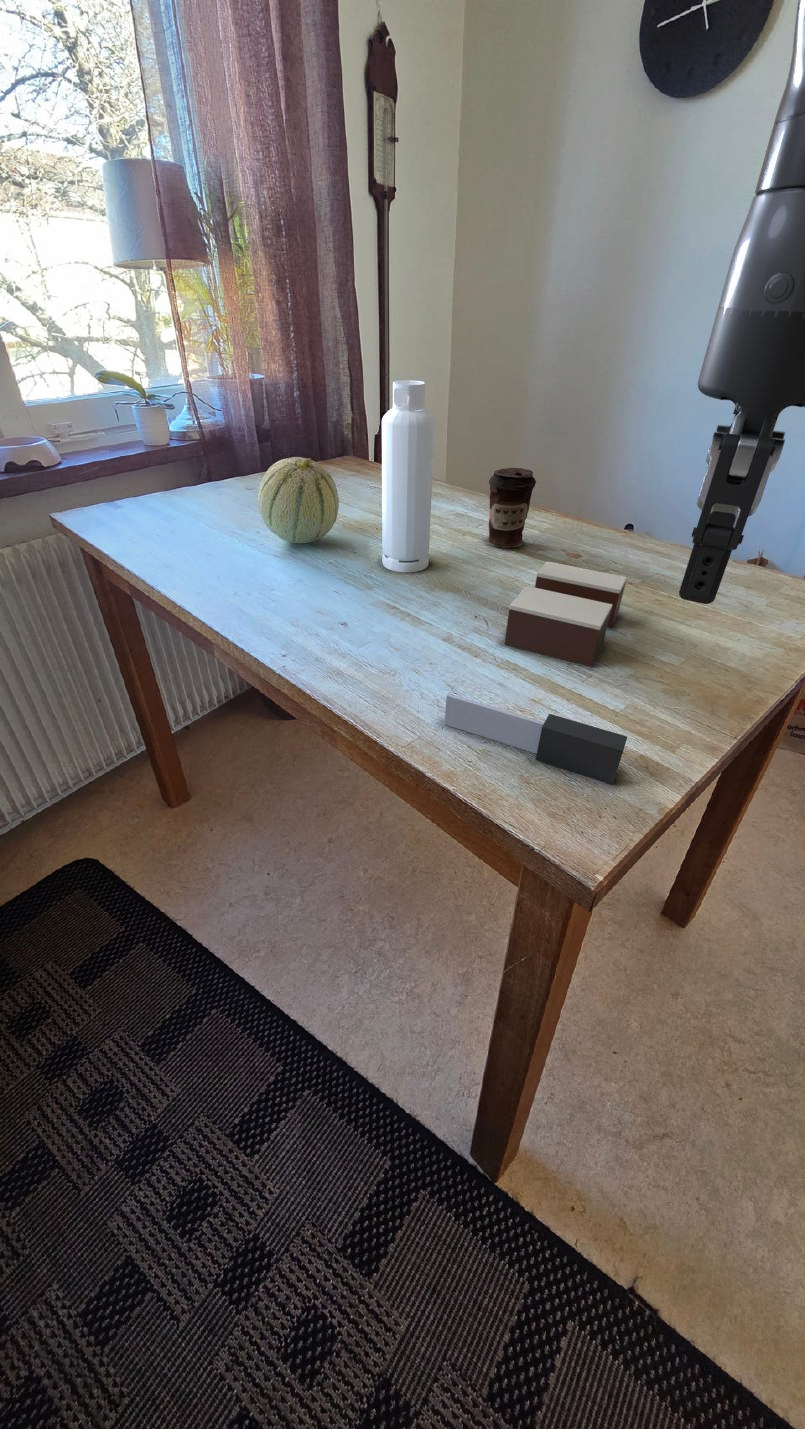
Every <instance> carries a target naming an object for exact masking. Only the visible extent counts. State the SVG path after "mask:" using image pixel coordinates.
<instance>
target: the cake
mask: <svg viewBox="0 0 805 1429" xmlns="http://www.w3.org/2000/svg"><path fill="white" fill-rule="evenodd" d="M611 609H612V604H608V603H603V602H599V601H594V600H589V599H585V598H580V597H576V596H571V595H566V594H562V593H557V592H553V591H548V590H543V589H539V588H535V586H534V587H533V586H529V585H525V586H524V588H522V590H521V591H520V593H519V594H517V596H516V597H515V598H514V599H513V600H512V601H511V603H510V604H509V607H508V616H507V621H506V630H505V637H504V645H506V646H510V647H513V648H516V649H521V650H524V651H529V652H532V653H535V654H538V655H542V656H543V655H545V656H548V657H552V658H556V659H559V660H563V661H567V662H570V663H574V664H578V665H583V666H586V667H590V668H592V666H593V665H594V662H595V660H596V658H597V656H598V654H599V652H600V650H601V648H602V647H603V645H604V643H605V642H604V641H605V638H606V633H607V629H608V627H607V626H608V621H609V617H610V613H611Z"/></svg>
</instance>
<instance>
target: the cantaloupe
mask: <svg viewBox="0 0 805 1429" xmlns="http://www.w3.org/2000/svg"><path fill="white" fill-rule="evenodd" d="M339 503H340V497H339V493H338V488H337V484H336V482H335V480H334V478H333V477H332V475H331V474H330V472H329V471H328V470H327V469H326V468H324V467H323V466H322V465H320V464H319V463H318V462H316V461H314V460H313V459H312V458H311V457H308V458H304V457H301V456H292V457H288V458H283V459H279V460H278V461H276V462H275V463H272V465H271V466H270V467H269V468H268V469H267V471H266V472H265V474H264V475H263V478H262V479H261V482H260V484H259V487H258V493H257V505H258V510H259V514H260V517H261V518H262V520H263V523H264V524H265V526H266V527H267V528H268V530H269V531H270V532H271V533H273V534H274V535H275V536H277V537H278V538H279V539H281V540H283V541H286V542H288V543H293V544H308V543H313V542H317V541H318V540H320V539H322V538H324V537H325V536H326V535H327V534H328V533H329V532H330V531H331V530H332V529H333V527H334V525H335V523H336V521H337V518H338V515H339V507H340V504H339Z"/></svg>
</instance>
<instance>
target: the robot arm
mask: <svg viewBox="0 0 805 1429" xmlns="http://www.w3.org/2000/svg"><path fill="white" fill-rule="evenodd" d="M707 343H708V344H707V346H706V351H705V354H704V357H703V361H702V365H701V368H700V369H701V370H700V371H699V372H700V373H699V376H698V379H697V380H698V381H697V388H698V390H699V392H700V393H701V394H703V395H704V396H707V397H709V398H712V399H715V400H720V401H730V402H732V403H733V404H734V406H735V407H734V409H733V412H732V414H733V415H734V417H733V419H732V423H731V424H730V425H726V424H725V425H724V424H717V426H716V430H715V431H714V433H713V435H712V438H711V441H710V445H709V447H708V451H707V456H706V462H705V463H706V464H707V466H706V467H707V469H706V471H705V474H704V477H703V480H702V484H701V486H700V489H699V493H698V496H697V500H696V506H697V508H698V509H699V510H700V511H701V513H700V516H699V520H698V522H697V525H696V526H694V527H693V530H692V532H691V538H692V544H693V546H692V548H691V552H690V555H689V559H688V562H687V565H686V568H685V572H684V574H683V577H682V581H681V584H680V588H679V590H678V595H679V596H678V597H680V599H681V600H684V601H689V602H694V603H697V604H698V603H699V604H702V605H703V604H704V605H709V604H711V603H714V602H715V600H716V597H717V595H718V591H719V589H720V586H721V583H722V580H723V577H724V574H725V572H726V569H727V567H728V564H729V561H730V558H731V554H732V552H733V551H736V550H737V549H738V546H740V545H741V544H742V543H743V540H744V537H745V535H744V534H743V532H744V531H745V527H746V524H747V522H748V518H749V517H751V516H753V515H754V514H755V513H756V512H757V510H758V508H759V506H760V504H761V501H762V499H763V495H764V492H765V489H766V486H767V483H768V480H769V477H770V473H772V472H773V471H774V470H775V468H776V466H777V464H778V462H779V460H780V458H781V455H782V451H783V449H784V446H785V442H786V438H785V436H786V431H785V430H783V431H781V430H775V428H776V424H777V422H778V418H779V416H780V414H781V413H782V412H783V411H784V410H785V409H786V408H789V407H798V408H805V0H798V1H797V6H796V15H795V25H794V34H793V45H792V53H791V60H790V65H789V70H788V75H787V80H786V82H785V88H784V90H783V93H782V97H781V99H780V102H779V104H778V109H777V112H776V115H775V118H774V122H773V126H772V129H771V133H770V137H769V140H768V143H767V148H766V150H765V155H764V158H763V161H762V166H761V169H760V173H759V175H758V179H757V183H756V186H755V191H754V196H753V198H752V200H751V203H750V206H749V209H748V212H747V214H746V218H745V220H744V223H743V225H742V227H741V230H740V233H739V235H738V238H737V241H736V242H735V246H734V249H733V252H732V255H731V259H730V262H729V265H728V270H727V273H726V277H725V281H724V285H723V288H722V292H721V295H720V299H719V302H718V307H717V310H716V314H715V317H714V320H713V325H712V328H711V332H710V336H709V340H708V342H707ZM784 438H785V439H784Z"/></svg>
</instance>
